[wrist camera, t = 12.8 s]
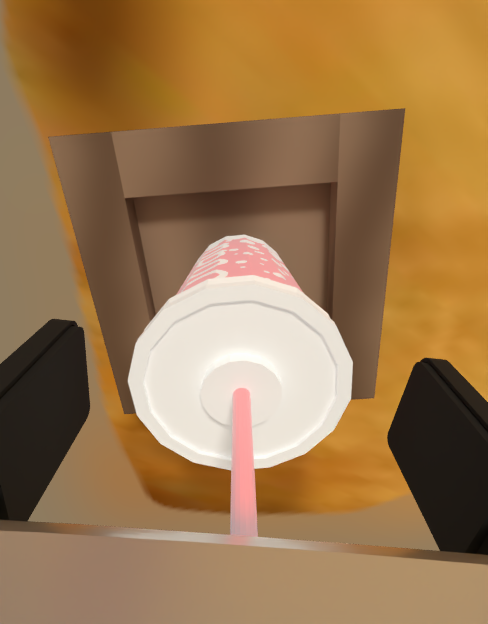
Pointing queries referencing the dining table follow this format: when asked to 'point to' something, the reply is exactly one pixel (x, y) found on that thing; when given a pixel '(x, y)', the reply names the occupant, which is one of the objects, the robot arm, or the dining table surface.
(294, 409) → the beverage cup
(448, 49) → the dining table surface
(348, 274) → the walnut tray
